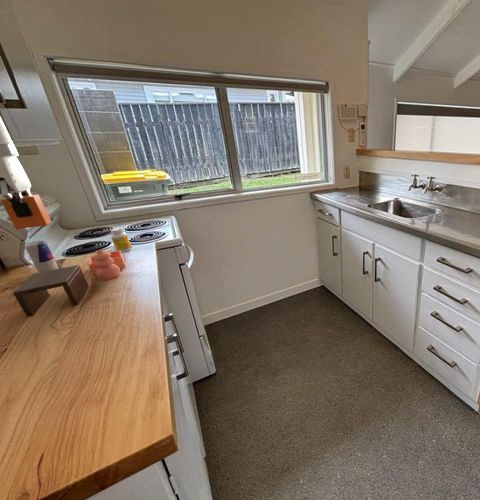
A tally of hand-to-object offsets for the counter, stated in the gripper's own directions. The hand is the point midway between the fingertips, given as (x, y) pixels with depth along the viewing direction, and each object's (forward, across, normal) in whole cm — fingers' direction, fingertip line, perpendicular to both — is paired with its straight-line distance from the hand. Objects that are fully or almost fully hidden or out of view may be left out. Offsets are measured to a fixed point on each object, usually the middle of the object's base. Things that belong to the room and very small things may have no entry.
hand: (28, 214), depth 86 cm
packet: (+4, 0, 0) cm, 4 cm away
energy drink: (+25, -15, -8) cm, 30 cm away
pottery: (+25, -4, +12) cm, 28 cm away
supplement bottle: (+25, -27, +13) cm, 39 cm away
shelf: (+25, +13, +3) cm, 28 cm away
